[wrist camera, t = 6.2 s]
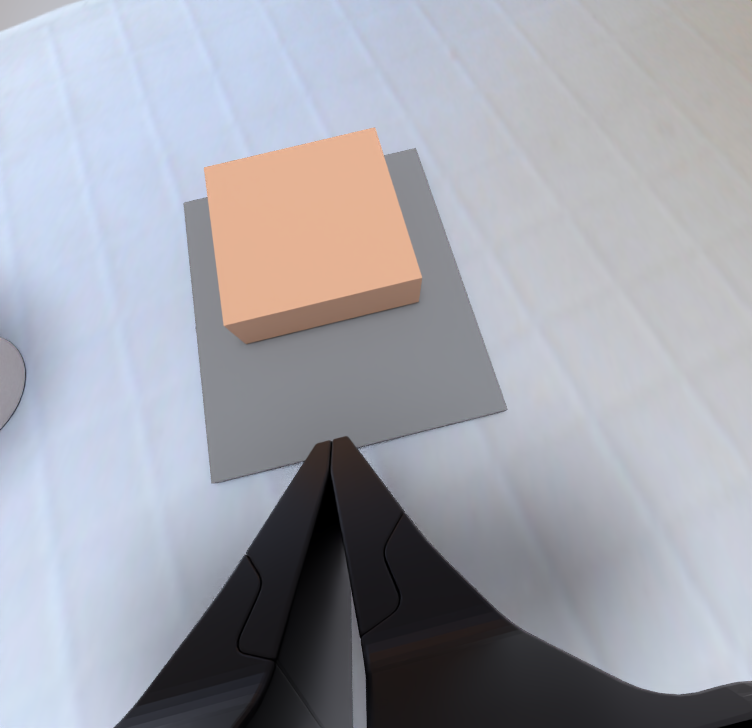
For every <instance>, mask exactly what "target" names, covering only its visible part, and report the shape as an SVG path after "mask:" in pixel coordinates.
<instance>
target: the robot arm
mask: <svg viewBox="0 0 752 728" xmlns="http://www.w3.org/2000/svg"><path fill="white" fill-rule="evenodd" d="M246 554H247V555H244V556H243V558H242V559H241V561H240V562H239V564H238V566H237V567H236V569H235V570H234V572H233V573H232V575H231V576H230V578H229V579H228V581H227V582H226V584H225V585H224V587H223V588H222V590H221V591H220V593H219V594H218V596H217V597H216V598H215V600H214V601H213V602H212V604H211V605H210V606H209V608H208V609H207V611H206V612H205V613H204V615H203V616H202V617H201V619H200V620H199V621H198V623H197V624H196V626H195V627H194V628H193V629H192V631H191V632H190V633H189V635H188V636H187V637H186V639H185V640H184V641H183V643H182V644H181V645H180V647H179V648H178V649H177V651H176V652H175V653H174V654H173V656H172V657H171V658H170V660H169V661H168V662H167V664H166V665H165V666H164V668H163V669H162V670H161V672H160V673H159V674H158V676H157V677H156V678H155V679H154V681H153V682H152V683H151V685H150V686H149V687H148V689H147V690H146V691H145V693H144V694H143V695H142V696H141V698H140V699H139V700H138V701H137V703H136V704H135V705H134V706H133V708H132V709H131V710H130V711H129V712H128V713H127V714H126V715H125V717H124V718H123V719H122V720H121V721H120V722H119V723H118V724H117V725H116V726H115V727H114V728H353V700H352V636H351V591H352V596H353V602H354V607H355V613H356V618H357V624H358V630H359V635H360V638H361V646H362V652H363V658H364V666H365V674H366V711H367V728H752V681H744V682H735V683H731V684H726V685H722V686H718V687H714V688H711V689H707V690H703V691H700V692H696V693H688V694H681V695H677V694H665V693H658V692H654V691H649V690H645V689H641V688H639V687H636V686H634V685H631V684H629V683H627V682H624V681H622V680H620V679H618V678H616V677H614V676H612V675H610V674H608V673H606V672H604V671H602V670H600V669H599V668H597V667H595V666H593V665H591V664H589V663H587V662H585V661H583V660H581V659H579V658H577V657H575V656H573V655H571V654H569V653H567V652H565V651H563V650H561V649H559V648H557V647H555V646H553V645H551V644H549V643H547V642H545V641H543V640H542V639H540V638H538V637H536V636H534V635H532V634H530V633H528V632H526V631H524V630H523V629H521V628H519V627H518V626H516V625H515V624H514V623H512V622H511V621H510V620H509V619H507V618H506V617H505V616H504V615H503V614H501V613H500V612H499V611H498V610H497V609H496V608H495V607H494V606H493V605H492V604H490V603H489V602H488V601H487V600H486V599H485V598H484V597H483V596H482V595H481V594H480V593H479V592H478V591H477V590H476V589H475V588H474V587H473V586H472V585H471V584H470V583H469V582H468V581H467V580H466V579H465V578H464V577H463V576H462V575H461V574H460V573H459V572H458V571H457V570H456V569H455V568H454V567H453V566H452V565H451V564H450V563H449V562H448V561H447V560H446V559H445V558H444V557H443V556H442V555H441V554H440V553H439V552H438V551H437V550H436V549H435V548H434V547H433V546H432V545H431V544H430V543H429V541H428V540H427V539H426V538H425V537H424V535H423V534H422V533H421V532H420V530H419V529H418V528H417V527H416V526H415V524H414V523H413V522H412V520H411V519H410V518H409V516H408V515H407V514H405V511H404V510H403V509H402V507H401V506H400V505H399V503H398V502H397V501H396V499H395V498H394V497H393V495H392V494H391V493H390V491H389V490H388V489H387V487H386V486H385V485H384V483H383V482H382V481H381V479H380V478H379V477H378V475H377V474H376V473H375V471H374V470H373V469H372V467H371V466H370V465H369V463H368V462H367V461H366V459H365V458H364V457H363V455H362V454H361V453H360V451H359V450H358V449H357V447H356V446H355V445H354V443H353V442H352V441H351V439H350V438H349V437H348V436H343V437H339V438H336V439H333V441H331V440H328V441H324V442H320V443H317V444H315V446H314V447H313V449H312V450H311V452H310V453H309V455H308V457H307V458H306V460H305V461H304V463H303V464H302V466H301V467H300V469H299V471H298V472H297V474H296V475H295V477H294V478H293V480H292V481H291V483H290V485H289V486H288V488H287V489H286V491H285V492H284V494H283V496H282V497H281V499H280V500H279V502H278V503H277V505H276V506H275V508H274V510H273V511H272V513H271V514H270V516H269V517H268V519H267V521H266V522H265V524H264V525H263V527H262V528H261V530H260V531H259V533H258V535H257V536H256V538H255V539H254V541H253V542H252V544H251V546H250V547H249V549H248V550H247V552H246Z"/></svg>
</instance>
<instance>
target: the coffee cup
mask: <svg viewBox="0 0 752 728" xmlns="http://www.w3.org/2000/svg"><path fill="white" fill-rule="evenodd" d="M24 383H25V367H24V362H23V359H22V357H21V355H20V353H19V351H18V350H17V349H16V347H15V346H14V345H13V344H12V343H10V342H9V341H7V340H6V339H4V338H2V337H0V429H1V428H2V427H3V425H4V424H5V423H6V422H7V421H8V419H9V418H10V417H11V415H12V414H13V412H14V410H15V409H16V407H17V405H18V403H19V401H20V398H21V395H22V392H23V388H24Z"/></svg>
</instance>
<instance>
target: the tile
mask: <svg viewBox="0 0 752 728" xmlns="http://www.w3.org/2000/svg"><path fill="white" fill-rule="evenodd" d="M204 172H205V180H206V188H207V196H208V204H209V212H210V220H211V228H212V236H213V244H214V252H215V260H216V268H217V276H218V284H219V292H220V300H221V308H222V316H223V324H224V326H225V327H226V328H227V329H228V330H229V331H231V332H232V333H233V334H234V335H235V336H237V337H238V338H239V339H240V340H241V341H243V342H244V343H245V344H248V343H252V342H256V341H260V340H264V339H269V338H273V337H277V336H281V335H285V334H289V333H293V332H297V331H301V330H306V329H310V328H314V327H318V326H322V325H326V324H330V323H334V322H338V321H342V320H347V319H351V318H355V317H359V316H363V315H367V314H371V313H375V312H379V311H384V310H388V309H392V308H396V307H400V306H404V305H408V304H412V303H416V302H419V297H420V290H421V283H422V275H421V272H420V269H419V266H418V263H417V259H416V256H415V253H414V250H413V247H412V244H411V240H410V237H409V234H408V231H407V228H406V225H405V221H404V218H403V215H402V212H401V209H400V206H399V202H398V199H397V196H396V193H395V190H394V186H393V183H392V180H391V177H390V174H389V171H388V167H387V164H386V161H385V158H384V155H383V152H382V148H381V145H380V142H379V139H378V136H377V132H376V129H375V128H371V129H366V130H362V131H358V132H353V133H349V134H345V135H341V136H336V137H332V138H328V139H324V140H319V141H315V142H311V143H307V144H302V145H298V146H294V147H289V148H285V149H281V150H277V151H272V152H268V153H264V154H260V155H255V156H251V157H247V158H243V159H238V160H234V161H230V162H225V163H221V164H217V165H213V166H208V167H204Z"/></svg>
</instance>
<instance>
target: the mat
mask: <svg viewBox="0 0 752 728" xmlns="http://www.w3.org/2000/svg"><path fill="white" fill-rule="evenodd" d="M384 158H385V161H386V164H387V167H388V171H389V174H390V177H391V180H392V183H393V186H394V190H395V193H396V196H397V199H398V202H399V206H400V209H401V212H402V215H403V218H404V221H405V225H406V228H407V231H408V234H409V237H410V240H411V244H412V247H413V250H414V253H415V256H416V259H417V263H418V266H419V269H420V272H421V275H422V283H421V290H420V297H419V302H416V303H412V304H408V305H404V306H400V307H396V308H392V309H388V310H384V311H379V312H375V313H371V314H367V315H363V316H359V317H355V318H351V319H347V320H342V321H338V322H334V323H330V324H326V325H322V326H318V327H314V328H310V329H306V330H301V331H297V332H293V333H289V334H285V335H281V336H277V337H273V338H269V339H264V340H260V341H256V342H252V343H248V344H245V343H244V342H243V341H241V340H240V339H239V338H238V337H237V336H235V335H234V334H233V333H232V332H231V331H229V330H228V329H227V328H226V327H225V326H224V324H223V316H222V308H221V300H220V292H219V284H218V276H217V268H216V260H215V252H214V244H213V236H212V228H211V220H210V212H209V204H208V197H206V198H202V199H197V200H193V201H189V202H185V203H184V212H185V222H186V233H187V243H188V253H189V263H190V273H191V283H192V293H193V303H194V313H195V323H196V333H197V343H198V353H199V363H200V373H201V383H202V393H203V403H204V413H205V423H206V433H207V443H208V453H209V463H210V473H211V483H219V482H223V481H227V480H231V479H235V478H239V477H243V476H247V475H251V474H255V473H259V472H263V471H267V470H271V469H275V468H279V467H283V466H287V465H291V464H295V463H299V462H303V461H305V460H306V458H307V457H308V455H309V453H310V452H311V450H312V449H313V447H314V446H315V444H317V443H320V442H324V441H328V440H331V441H333V439H336V438H339V437H343V436H348V437H349V438H350V439H351V441H352V442H353V443H354V445H355V446H356V447H357V448H359V447H363V446H367V445H371V444H375V443H379V442H383V441H387V440H391V439H395V438H399V437H403V436H407V435H411V434H415V433H419V432H423V431H427V430H431V429H435V428H439V427H443V426H447V425H451V424H455V423H459V422H463V421H467V420H471V419H475V418H479V417H483V416H487V415H491V414H495V413H499V412H503V411H506V410H507V406H506V404H505V401H504V398H503V395H502V392H501V389H500V386H499V384H498V381H497V378H496V375H495V372H494V369H493V367H492V364H491V361H490V358H489V355H488V352H487V349H486V347H485V344H484V341H483V338H482V335H481V332H480V330H479V327H478V324H477V321H476V318H475V315H474V312H473V310H472V307H471V304H470V301H469V298H468V295H467V293H466V290H465V287H464V284H463V281H462V278H461V275H460V273H459V270H458V267H457V264H456V261H455V258H454V255H453V253H452V250H451V247H450V244H449V241H448V238H447V236H446V233H445V230H444V227H443V224H442V221H441V218H440V216H439V213H438V210H437V207H436V204H435V201H434V199H433V196H432V193H431V190H430V187H429V184H428V181H427V179H426V176H425V173H424V170H423V167H422V164H421V162H420V159H419V156H418V153H417V150H416V148H414V149H409V150H405V151H401V152H397V153H392V154H388V155H384Z"/></svg>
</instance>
